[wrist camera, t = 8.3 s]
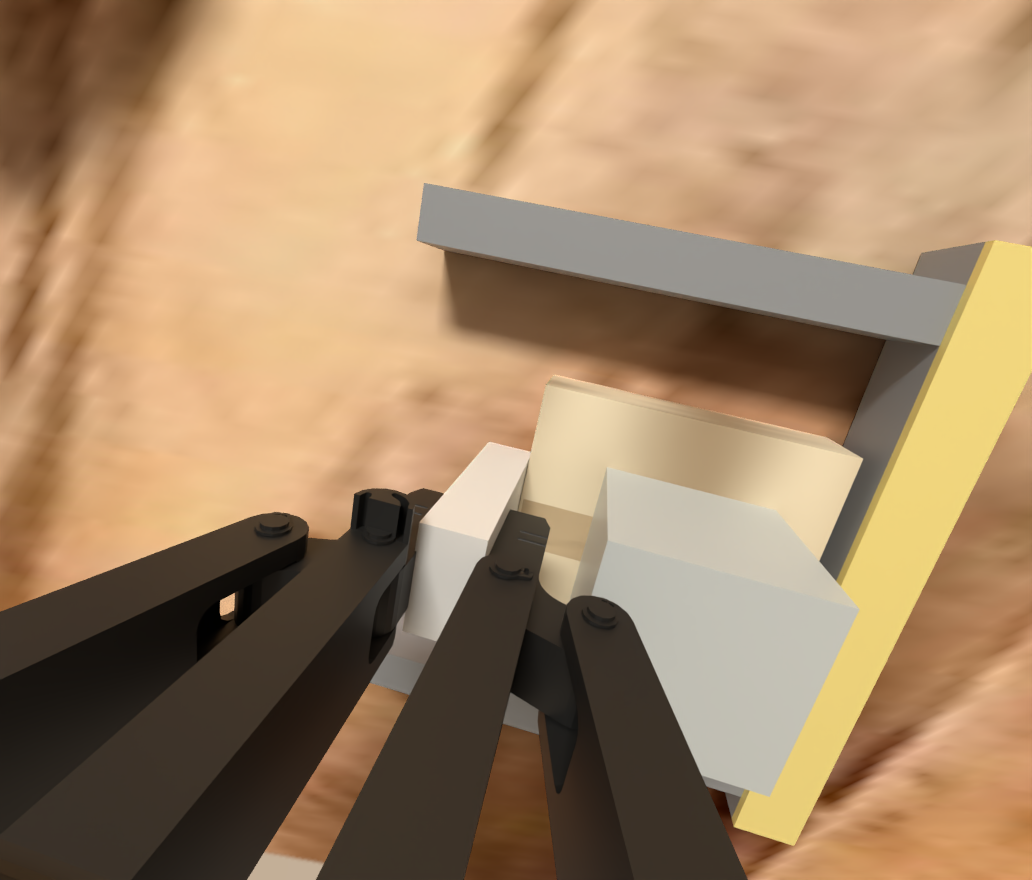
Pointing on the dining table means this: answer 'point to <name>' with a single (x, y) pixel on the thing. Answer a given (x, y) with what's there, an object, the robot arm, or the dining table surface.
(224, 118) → the dining table surface
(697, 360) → the dining table surface
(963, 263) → the dock
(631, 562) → the light grey cube
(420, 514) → the robot arm
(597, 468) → the pallet
